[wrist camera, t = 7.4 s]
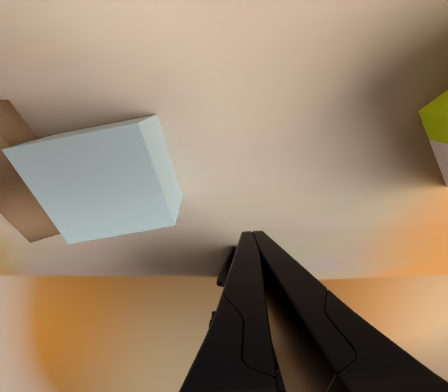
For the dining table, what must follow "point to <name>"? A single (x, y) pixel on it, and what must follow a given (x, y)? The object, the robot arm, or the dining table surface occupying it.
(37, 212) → the board
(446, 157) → the puzzle toy
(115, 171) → the block
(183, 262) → the dining table surface
